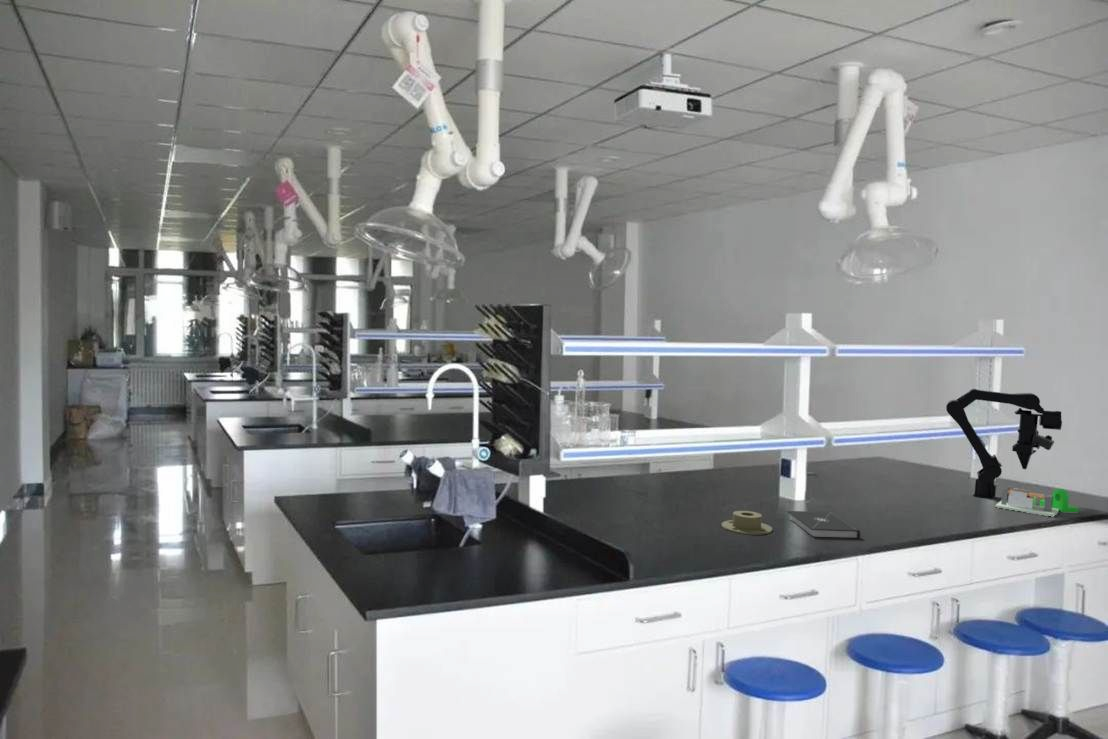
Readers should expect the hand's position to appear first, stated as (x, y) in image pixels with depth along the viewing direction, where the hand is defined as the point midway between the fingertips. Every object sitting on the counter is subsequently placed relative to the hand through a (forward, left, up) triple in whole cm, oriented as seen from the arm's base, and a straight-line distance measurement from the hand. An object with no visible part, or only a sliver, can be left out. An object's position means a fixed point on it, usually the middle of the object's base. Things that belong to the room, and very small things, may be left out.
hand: (1024, 469), depth 304 cm
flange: (-56, -115, -13) cm, 128 cm away
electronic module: (+4, -15, -11) cm, 19 cm away
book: (-40, -97, -13) cm, 106 cm away
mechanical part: (+12, -4, -12) cm, 18 cm away
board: (+4, -15, -12) cm, 20 cm away
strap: (+3, -15, -7) cm, 17 cm away
